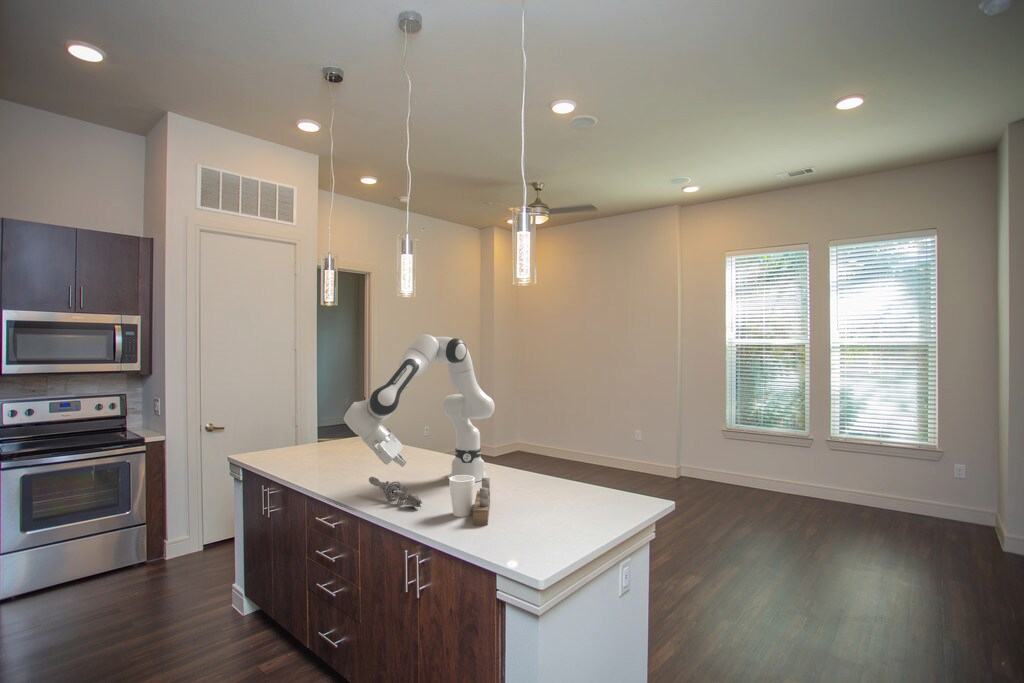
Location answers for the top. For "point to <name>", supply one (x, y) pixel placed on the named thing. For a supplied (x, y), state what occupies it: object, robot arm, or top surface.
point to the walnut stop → (482, 504)
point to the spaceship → (396, 492)
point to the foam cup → (462, 494)
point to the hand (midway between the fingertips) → (404, 464)
